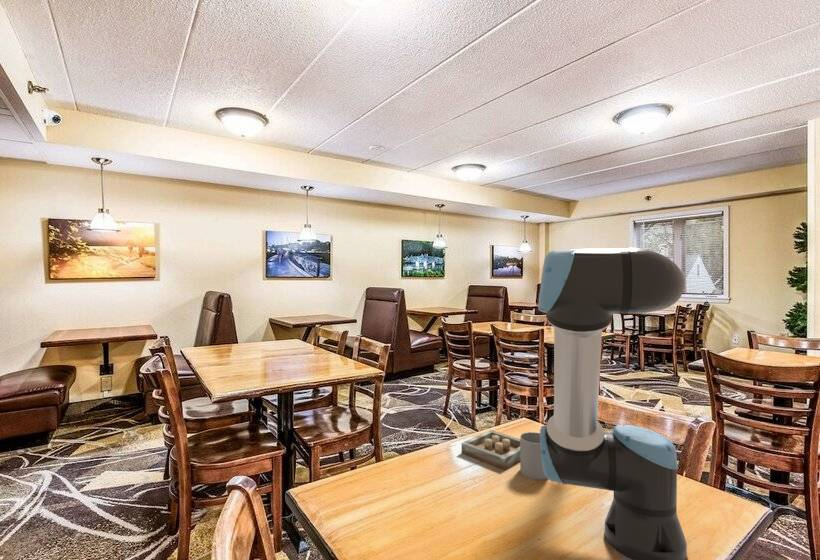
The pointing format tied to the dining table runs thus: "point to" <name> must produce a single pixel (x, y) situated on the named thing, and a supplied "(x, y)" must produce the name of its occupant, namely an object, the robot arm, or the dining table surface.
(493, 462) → the grey square tray
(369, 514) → the dining table surface
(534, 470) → the cup
